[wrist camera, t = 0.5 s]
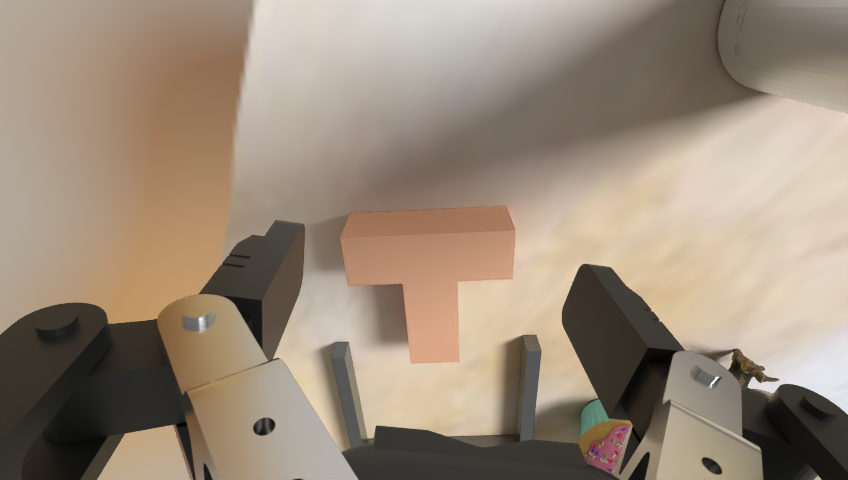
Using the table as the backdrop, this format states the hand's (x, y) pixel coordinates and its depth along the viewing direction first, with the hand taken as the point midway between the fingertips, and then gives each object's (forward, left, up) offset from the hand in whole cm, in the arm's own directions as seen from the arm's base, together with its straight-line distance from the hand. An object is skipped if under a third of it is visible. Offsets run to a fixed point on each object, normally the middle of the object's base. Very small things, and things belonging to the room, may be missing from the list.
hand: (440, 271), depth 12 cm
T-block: (+1, +13, -19) cm, 23 cm away
